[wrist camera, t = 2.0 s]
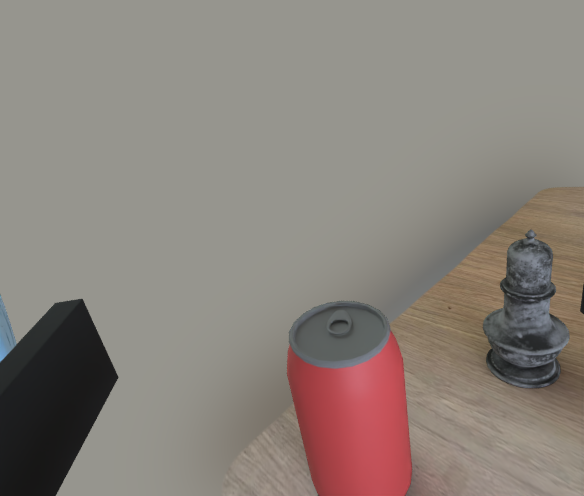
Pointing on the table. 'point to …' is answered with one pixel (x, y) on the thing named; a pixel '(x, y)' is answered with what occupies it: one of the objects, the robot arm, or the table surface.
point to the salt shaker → (526, 319)
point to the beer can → (350, 400)
